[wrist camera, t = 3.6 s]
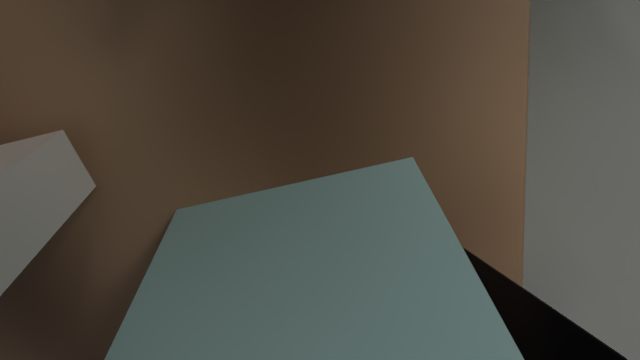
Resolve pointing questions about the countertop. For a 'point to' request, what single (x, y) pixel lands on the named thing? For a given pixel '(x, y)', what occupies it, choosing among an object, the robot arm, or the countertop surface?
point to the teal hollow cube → (315, 278)
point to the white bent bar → (36, 197)
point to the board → (250, 127)
